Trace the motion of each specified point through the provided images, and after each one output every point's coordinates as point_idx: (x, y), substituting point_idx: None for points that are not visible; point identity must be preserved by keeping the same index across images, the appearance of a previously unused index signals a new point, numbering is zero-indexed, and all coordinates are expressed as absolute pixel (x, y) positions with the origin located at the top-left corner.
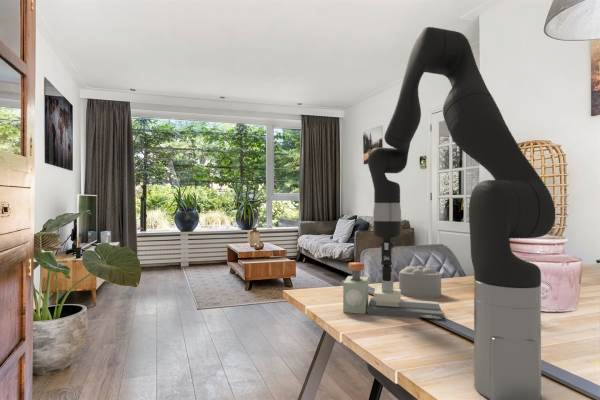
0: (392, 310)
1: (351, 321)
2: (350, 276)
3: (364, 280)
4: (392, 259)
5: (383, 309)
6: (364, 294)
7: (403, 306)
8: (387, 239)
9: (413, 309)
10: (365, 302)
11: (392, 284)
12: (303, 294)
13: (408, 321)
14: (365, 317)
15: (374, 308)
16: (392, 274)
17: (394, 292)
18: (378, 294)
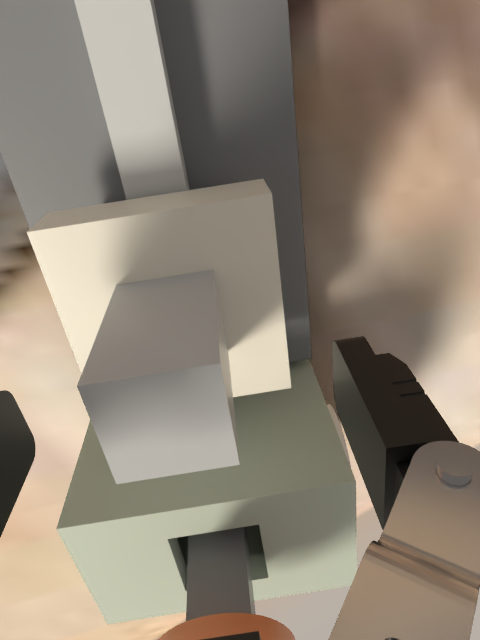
0: (301, 217)
1: (452, 371)
2: (116, 611)
3: (220, 517)
4: (386, 547)
5: (303, 274)
6: (333, 428)
7: (184, 156)
8: None
9: (221, 64)
10: (320, 388)
11: (215, 308)
12: (94, 630)
13: (384, 84)
14: (369, 334)
15: (299, 325)
16: (221, 368)
17: (194, 260)
18: (287, 356)
